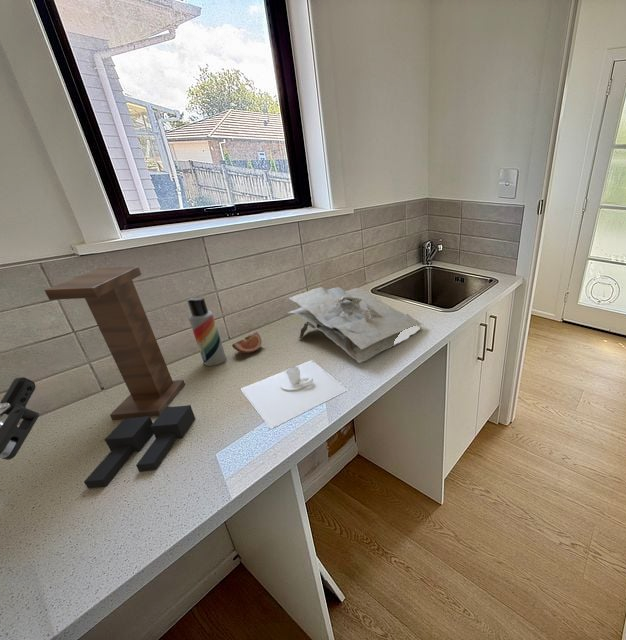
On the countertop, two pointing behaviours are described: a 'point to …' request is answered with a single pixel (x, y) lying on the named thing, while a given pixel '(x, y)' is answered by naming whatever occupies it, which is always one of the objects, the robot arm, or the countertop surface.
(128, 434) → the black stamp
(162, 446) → the black angular piece
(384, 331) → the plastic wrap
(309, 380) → the teacup and saucer
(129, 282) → the walnut stand
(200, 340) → the lotion bottle
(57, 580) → the countertop surface
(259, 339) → the fruit slice
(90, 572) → the countertop surface
